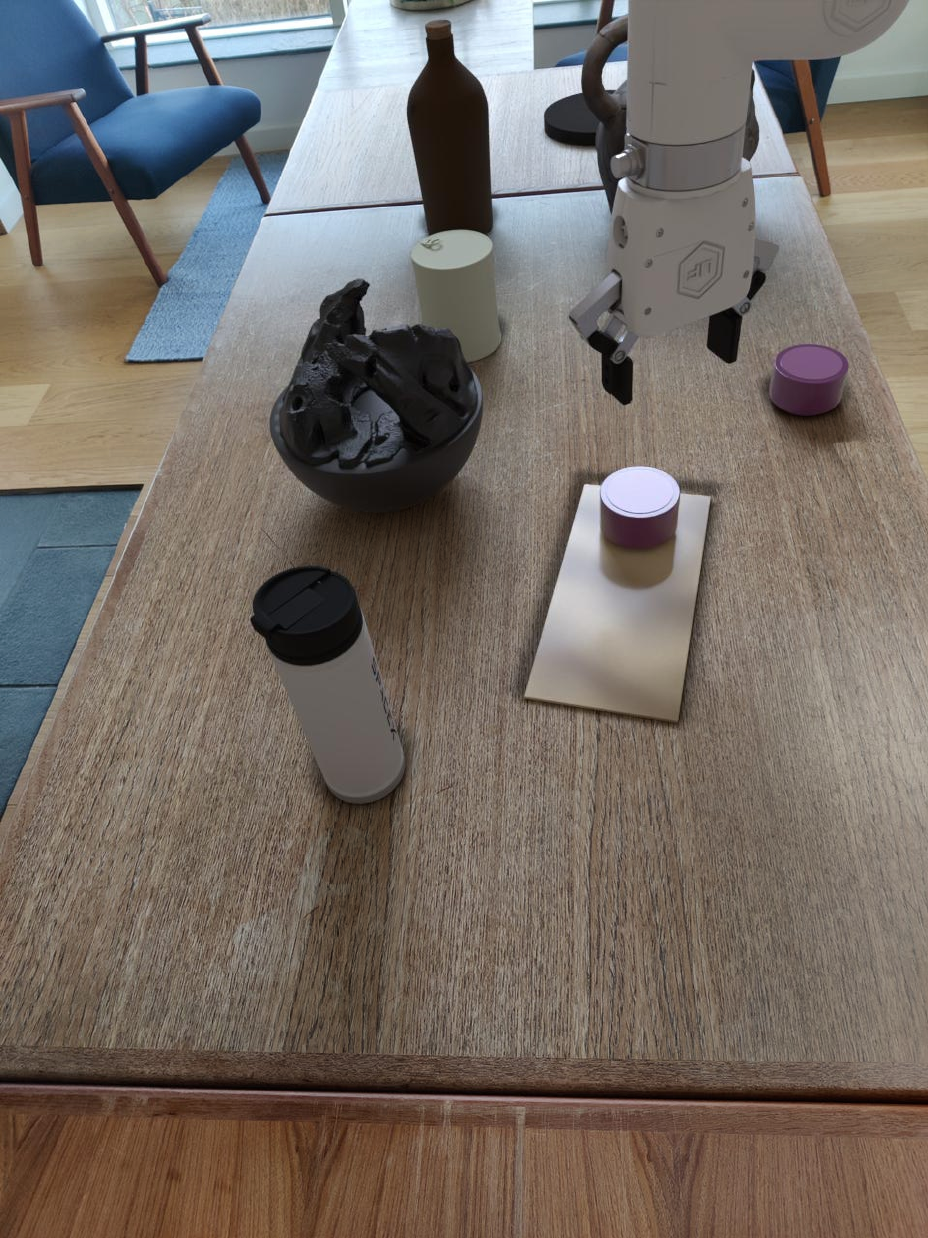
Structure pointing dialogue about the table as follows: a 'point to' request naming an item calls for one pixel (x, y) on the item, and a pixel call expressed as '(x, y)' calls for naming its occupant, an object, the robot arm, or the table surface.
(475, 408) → the coal bowl
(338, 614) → the travel mug
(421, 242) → the can
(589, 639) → the beige metallic rectangular plate
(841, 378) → the purple short cylinder
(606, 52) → the vessel
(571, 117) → the wireless charger
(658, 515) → the purple short cylinder
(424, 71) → the olive oil
